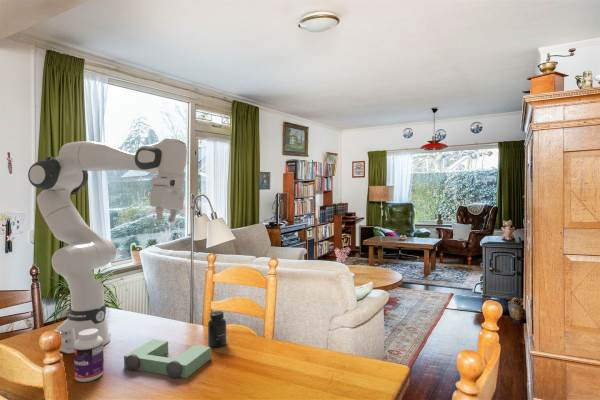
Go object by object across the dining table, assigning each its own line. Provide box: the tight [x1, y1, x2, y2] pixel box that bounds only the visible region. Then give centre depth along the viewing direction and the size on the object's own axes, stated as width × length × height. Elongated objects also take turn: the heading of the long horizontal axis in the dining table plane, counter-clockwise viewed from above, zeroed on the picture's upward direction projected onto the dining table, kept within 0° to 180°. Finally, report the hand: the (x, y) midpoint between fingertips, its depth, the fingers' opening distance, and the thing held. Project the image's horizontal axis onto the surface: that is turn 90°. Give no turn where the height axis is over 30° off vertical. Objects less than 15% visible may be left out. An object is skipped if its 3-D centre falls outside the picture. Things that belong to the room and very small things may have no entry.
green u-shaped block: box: [123, 338, 212, 379], centre depth 127 cm, size 24×15×5 cm, turn 71°
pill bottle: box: [73, 329, 105, 383], centre depth 119 cm, size 8×8×14 cm
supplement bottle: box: [207, 310, 227, 349], centre depth 142 cm, size 7×7×12 cm
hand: (165, 221), depth 135 cm, fingers open, 8 cm apart
